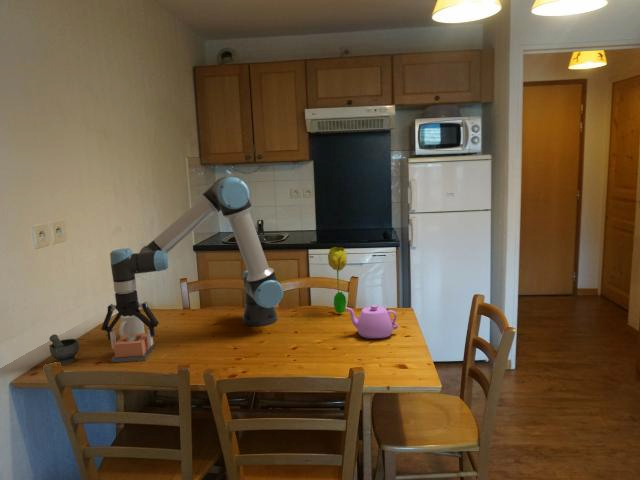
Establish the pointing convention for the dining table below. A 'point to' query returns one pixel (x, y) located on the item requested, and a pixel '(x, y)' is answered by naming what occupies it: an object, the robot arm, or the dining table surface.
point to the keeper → (133, 358)
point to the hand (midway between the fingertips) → (132, 346)
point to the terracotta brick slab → (131, 346)
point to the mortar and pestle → (63, 349)
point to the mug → (131, 325)
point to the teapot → (374, 322)
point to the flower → (337, 262)
